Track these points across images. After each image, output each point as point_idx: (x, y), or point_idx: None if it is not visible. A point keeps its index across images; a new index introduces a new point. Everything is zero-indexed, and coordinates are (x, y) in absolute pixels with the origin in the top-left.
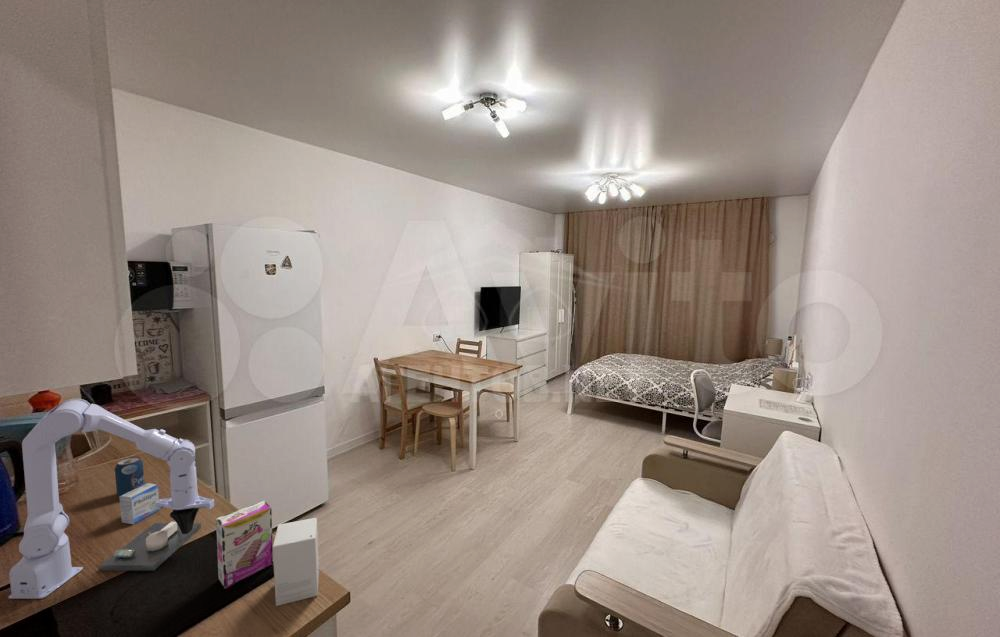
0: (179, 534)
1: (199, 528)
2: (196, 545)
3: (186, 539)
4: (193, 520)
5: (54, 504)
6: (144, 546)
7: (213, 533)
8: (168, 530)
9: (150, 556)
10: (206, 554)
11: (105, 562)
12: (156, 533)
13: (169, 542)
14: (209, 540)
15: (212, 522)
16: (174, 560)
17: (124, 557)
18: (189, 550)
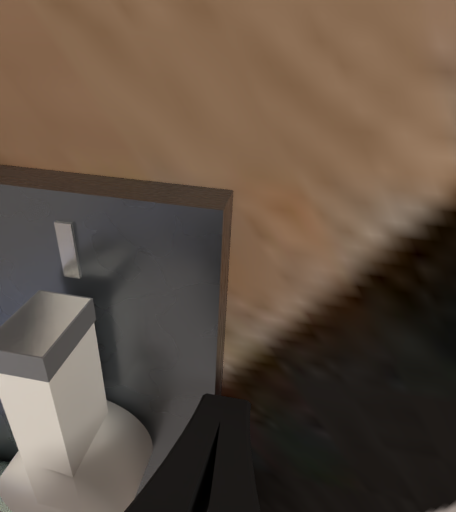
0: (148, 347)
1: (230, 210)
2: (326, 393)
3: (222, 350)
4: (252, 494)
5: None
6: None
7: (399, 283)
8: (76, 442)
9: (138, 490)
10: (440, 477)
11: None
12: (30, 486)
13: (147, 412)
14: (401, 362)
15: (302, 92)
16: (268, 476)
17: None
18: (306, 426)
